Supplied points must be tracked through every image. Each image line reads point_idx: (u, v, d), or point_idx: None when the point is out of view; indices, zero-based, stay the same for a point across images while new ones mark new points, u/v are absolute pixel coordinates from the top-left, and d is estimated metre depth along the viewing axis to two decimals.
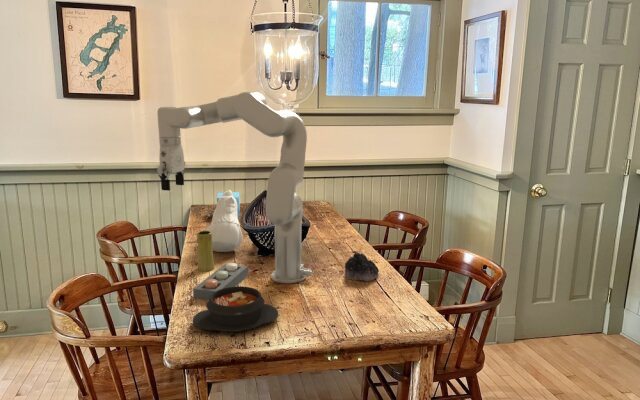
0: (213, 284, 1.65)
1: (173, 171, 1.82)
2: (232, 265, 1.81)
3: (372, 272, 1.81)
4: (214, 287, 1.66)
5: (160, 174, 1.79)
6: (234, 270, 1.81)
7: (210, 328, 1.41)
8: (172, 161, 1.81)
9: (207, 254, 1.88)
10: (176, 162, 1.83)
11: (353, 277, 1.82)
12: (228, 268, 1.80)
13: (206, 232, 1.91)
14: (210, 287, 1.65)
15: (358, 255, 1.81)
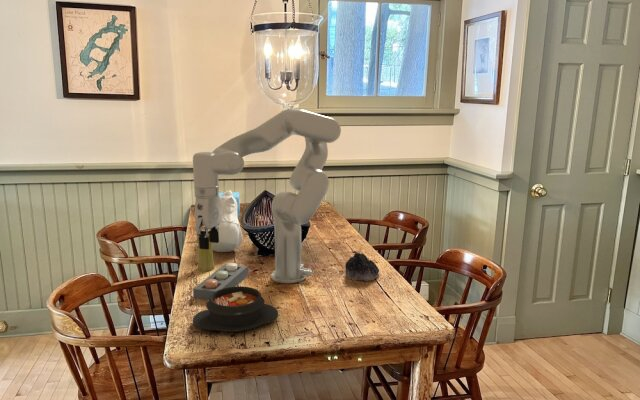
0: (213, 284, 1.65)
1: (210, 226, 1.58)
2: (232, 265, 1.81)
3: (372, 272, 1.81)
4: (214, 287, 1.66)
5: None
6: (234, 270, 1.81)
7: (210, 328, 1.41)
8: (210, 215, 1.57)
9: (207, 254, 1.88)
10: (213, 215, 1.60)
11: (353, 277, 1.82)
12: (228, 268, 1.80)
13: None
14: (210, 287, 1.65)
15: (358, 255, 1.81)
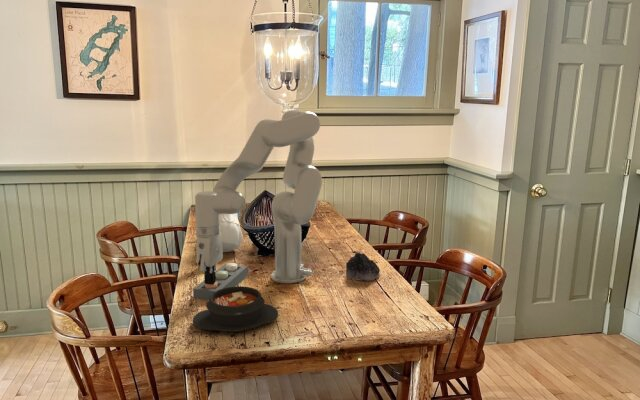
0: (213, 286, 1.65)
1: (211, 264, 1.61)
2: (232, 265, 1.81)
3: (373, 272, 1.81)
4: None
5: None
6: (234, 270, 1.81)
7: (210, 328, 1.41)
8: (211, 253, 1.60)
9: None
10: (214, 254, 1.62)
11: (354, 277, 1.82)
12: (228, 268, 1.80)
13: None
14: None
15: (359, 255, 1.81)
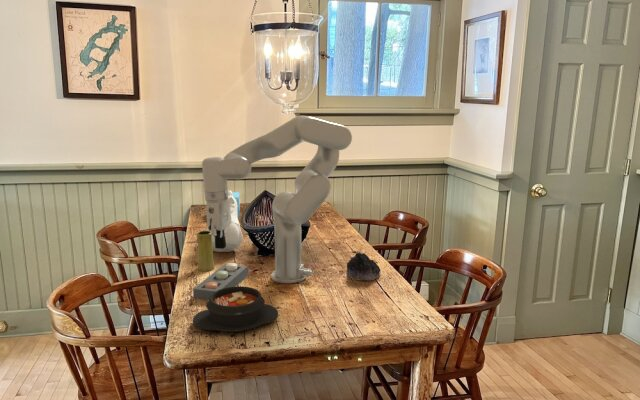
0: (213, 287, 1.66)
1: (222, 228, 1.65)
2: (232, 265, 1.81)
3: (374, 272, 1.81)
4: None
5: None
6: (234, 270, 1.81)
7: (210, 328, 1.41)
8: (221, 217, 1.64)
9: (207, 254, 1.88)
10: (224, 218, 1.66)
11: (355, 277, 1.82)
12: (228, 268, 1.80)
13: (206, 232, 1.91)
14: None
15: (360, 255, 1.81)
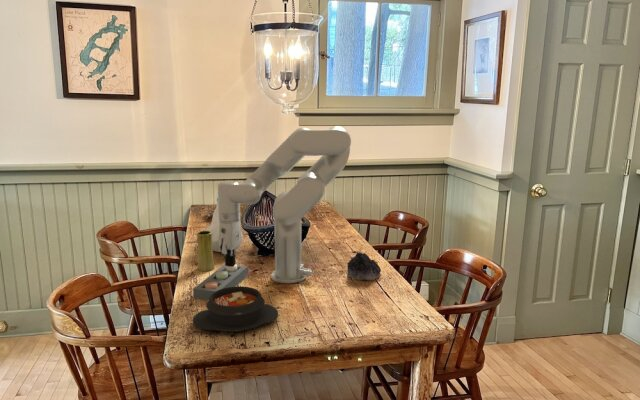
0: (213, 287, 1.66)
1: (232, 248, 1.76)
2: None
3: (375, 271, 1.82)
4: None
5: None
6: (234, 271, 1.81)
7: (210, 328, 1.41)
8: (232, 238, 1.75)
9: (207, 254, 1.88)
10: (235, 238, 1.77)
11: (356, 277, 1.82)
12: (228, 269, 1.80)
13: (206, 232, 1.91)
14: None
15: (360, 255, 1.82)
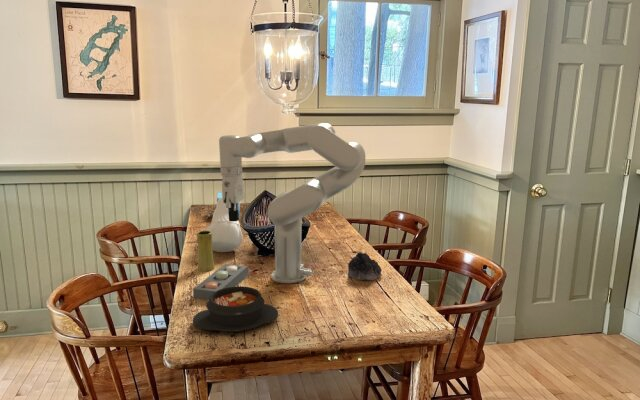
0: (213, 287, 1.66)
1: (236, 201, 1.77)
2: (232, 268, 1.81)
3: (375, 271, 1.82)
4: None
5: None
6: None
7: (210, 328, 1.41)
8: (235, 191, 1.76)
9: (207, 254, 1.88)
10: (238, 192, 1.78)
11: (356, 277, 1.82)
12: None
13: (206, 232, 1.91)
14: None
15: (361, 255, 1.82)
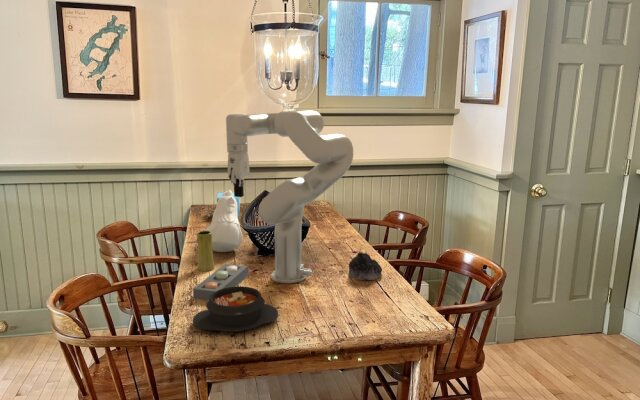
0: (213, 287, 1.66)
1: (241, 177, 1.85)
2: (232, 268, 1.81)
3: (376, 271, 1.82)
4: None
5: None
6: None
7: (210, 328, 1.41)
8: (240, 167, 1.84)
9: (207, 254, 1.88)
10: (243, 168, 1.86)
11: (357, 277, 1.82)
12: None
13: (206, 232, 1.91)
14: None
15: (362, 255, 1.82)
